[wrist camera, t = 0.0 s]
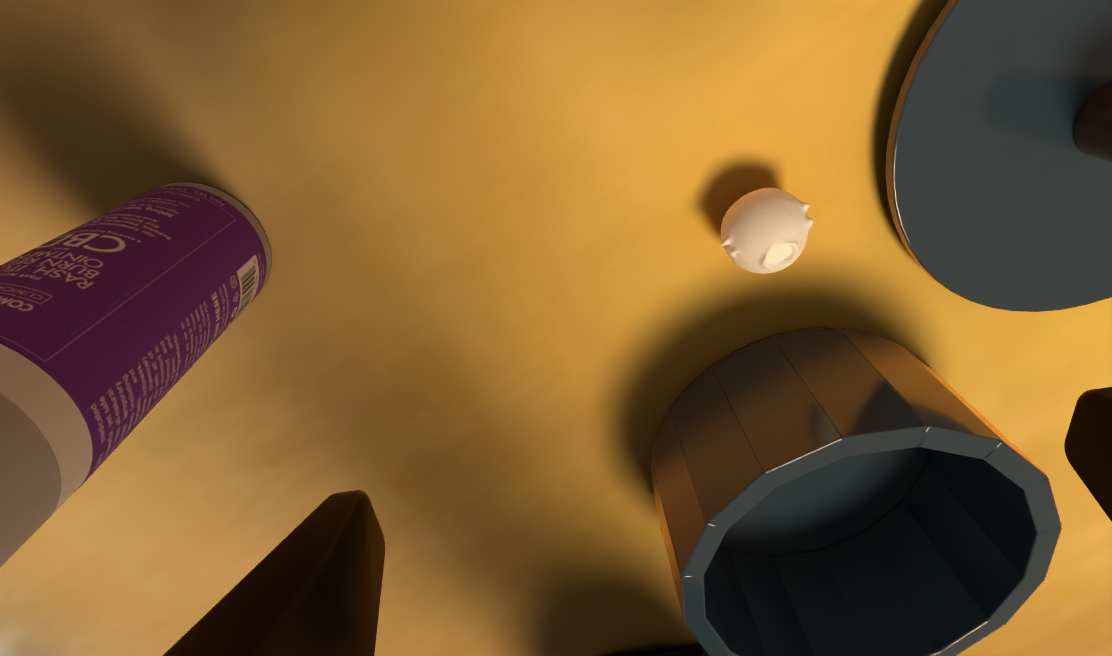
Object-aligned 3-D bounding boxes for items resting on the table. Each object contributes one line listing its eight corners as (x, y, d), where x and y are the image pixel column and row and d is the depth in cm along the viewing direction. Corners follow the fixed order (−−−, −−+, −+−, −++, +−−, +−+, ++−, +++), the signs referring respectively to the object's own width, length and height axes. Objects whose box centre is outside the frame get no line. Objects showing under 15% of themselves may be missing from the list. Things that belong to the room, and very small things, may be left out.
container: (215, 157, 20) (-391, 463, 7) (299, 279, 22) (-45, 693, 9) (100, 214, 21) (-652, 589, 8) (191, 326, 23) (-275, 774, 10)
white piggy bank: (780, 164, 21) (815, 187, 18) (802, 239, 22) (837, 270, 20) (696, 201, 21) (718, 229, 19) (722, 272, 23) (746, 307, 20)
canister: (923, 540, 30) (1016, 668, 24) (660, 574, 30) (690, 708, 24) (968, 305, 24) (1104, 401, 18) (639, 352, 24) (672, 460, 18)
